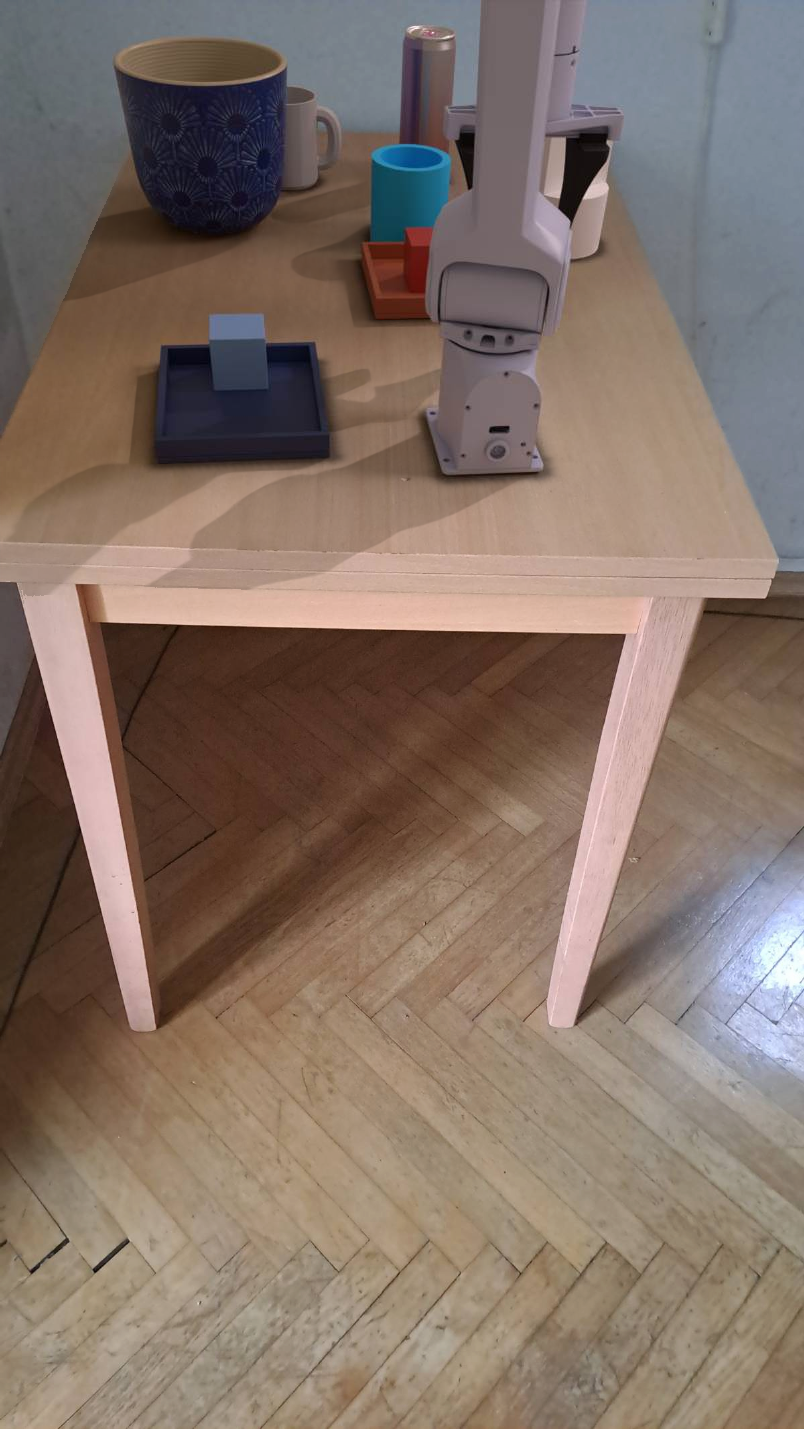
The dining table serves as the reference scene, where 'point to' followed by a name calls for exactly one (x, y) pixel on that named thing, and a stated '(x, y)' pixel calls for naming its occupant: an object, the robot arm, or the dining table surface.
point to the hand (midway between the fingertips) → (520, 229)
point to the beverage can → (426, 85)
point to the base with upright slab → (591, 205)
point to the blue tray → (240, 408)
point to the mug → (407, 189)
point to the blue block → (238, 351)
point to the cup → (307, 139)
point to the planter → (206, 128)
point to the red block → (416, 257)
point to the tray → (389, 282)
